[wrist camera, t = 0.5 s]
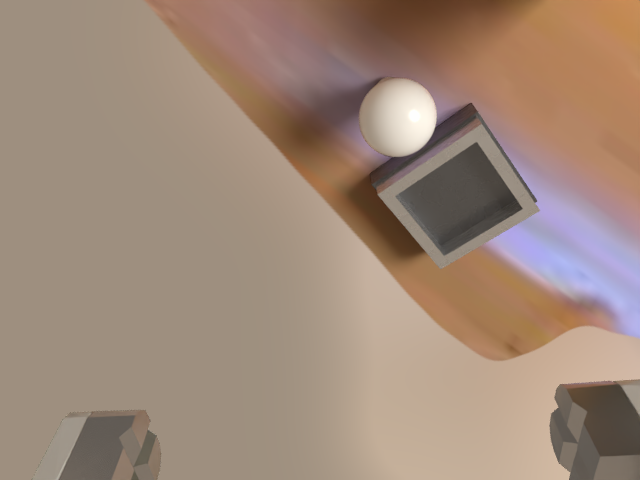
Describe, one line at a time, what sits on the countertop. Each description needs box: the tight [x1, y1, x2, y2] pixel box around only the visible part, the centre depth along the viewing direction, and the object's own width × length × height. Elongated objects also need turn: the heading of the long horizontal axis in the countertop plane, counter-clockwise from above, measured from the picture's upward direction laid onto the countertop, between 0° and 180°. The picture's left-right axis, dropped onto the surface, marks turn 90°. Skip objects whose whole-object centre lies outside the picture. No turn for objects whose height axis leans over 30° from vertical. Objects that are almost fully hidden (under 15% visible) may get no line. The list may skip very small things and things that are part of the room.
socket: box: [370, 103, 540, 269], centre depth 54 cm, size 12×12×4 cm
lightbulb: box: [359, 77, 437, 157], centre depth 46 cm, size 6×6×11 cm
